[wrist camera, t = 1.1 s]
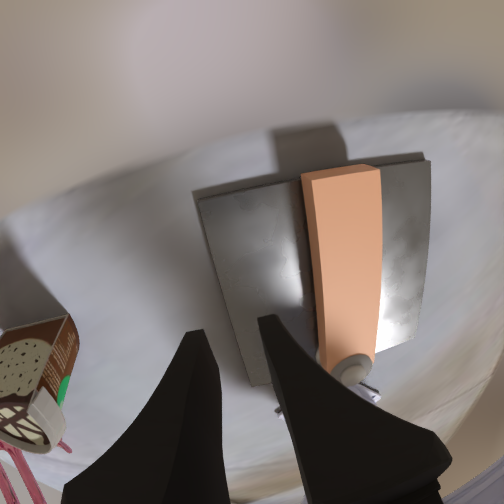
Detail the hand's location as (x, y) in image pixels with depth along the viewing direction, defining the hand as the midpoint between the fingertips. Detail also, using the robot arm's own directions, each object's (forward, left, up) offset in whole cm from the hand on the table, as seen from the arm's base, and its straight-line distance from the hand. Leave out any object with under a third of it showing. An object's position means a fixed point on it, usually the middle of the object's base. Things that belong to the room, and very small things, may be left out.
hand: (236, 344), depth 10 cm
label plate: (-9, -2, -9) cm, 13 cm away
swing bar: (-8, -2, -8) cm, 12 cm away
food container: (+6, +18, -10) cm, 21 cm away
